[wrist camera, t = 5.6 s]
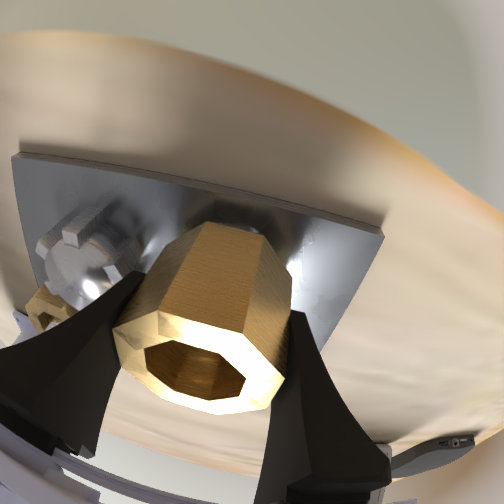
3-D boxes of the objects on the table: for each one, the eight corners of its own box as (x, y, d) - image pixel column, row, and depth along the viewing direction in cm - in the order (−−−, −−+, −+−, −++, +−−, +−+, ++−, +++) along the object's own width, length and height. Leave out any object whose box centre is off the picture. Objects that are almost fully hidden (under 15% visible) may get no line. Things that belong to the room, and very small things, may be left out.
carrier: (292, 384, 21) (290, 430, 18) (56, 315, 20) (33, 350, 17) (380, 228, 13) (405, 283, 10) (20, 152, 12) (-29, 180, 9)
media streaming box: (367, 466, 37) (368, 481, 35) (427, 436, 29) (430, 454, 26) (424, 462, 38) (426, 475, 36) (481, 430, 30) (484, 445, 27)
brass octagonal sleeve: (269, 335, 15) (256, 423, 11) (164, 306, 15) (126, 385, 11) (304, 246, 12) (302, 348, 7) (168, 211, 12) (105, 292, 7)
